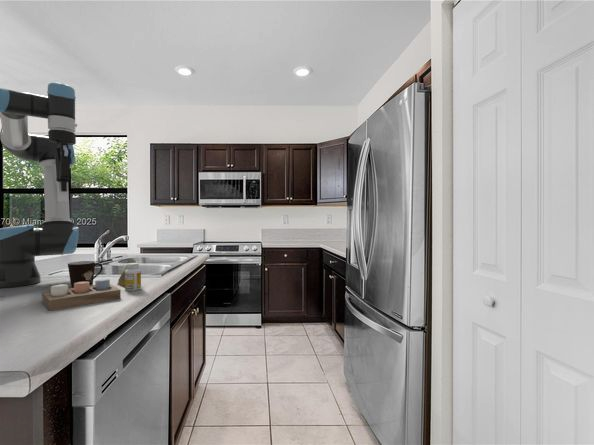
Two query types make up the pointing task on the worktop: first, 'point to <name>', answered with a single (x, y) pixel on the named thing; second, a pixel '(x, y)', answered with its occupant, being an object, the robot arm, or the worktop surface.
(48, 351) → the worktop surface
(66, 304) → the brown wooden flat block
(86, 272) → the coffee mug
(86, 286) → the peach oval egg shape
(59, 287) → the off-white egg
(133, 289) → the supplement bottle
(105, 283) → the pale blue egg
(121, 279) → the rock
